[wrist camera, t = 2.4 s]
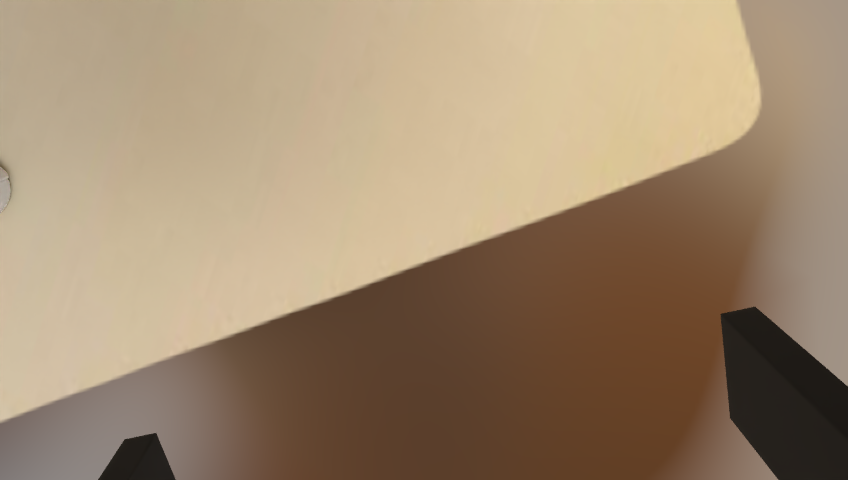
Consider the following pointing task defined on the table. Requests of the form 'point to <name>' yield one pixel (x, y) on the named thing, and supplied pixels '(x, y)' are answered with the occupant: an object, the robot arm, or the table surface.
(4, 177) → the white boxy piece
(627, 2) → the table surface
